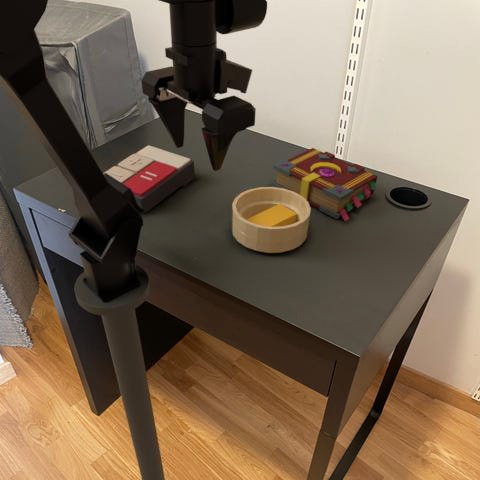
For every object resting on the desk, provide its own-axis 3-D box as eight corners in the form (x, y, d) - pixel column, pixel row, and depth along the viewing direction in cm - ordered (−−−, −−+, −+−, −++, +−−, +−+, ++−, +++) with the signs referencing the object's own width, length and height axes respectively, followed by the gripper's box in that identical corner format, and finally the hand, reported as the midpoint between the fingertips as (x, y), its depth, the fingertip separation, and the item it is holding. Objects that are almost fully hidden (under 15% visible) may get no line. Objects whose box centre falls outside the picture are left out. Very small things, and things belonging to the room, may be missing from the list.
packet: (260, 245, 75) (261, 231, 74) (243, 233, 77) (243, 220, 76) (295, 226, 79) (297, 213, 77) (278, 216, 81) (279, 203, 80)
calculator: (91, 176, 83) (147, 141, 92) (97, 198, 86) (150, 161, 95) (141, 195, 79) (194, 156, 88) (145, 217, 82) (196, 177, 91)
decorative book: (310, 168, 95) (313, 143, 92) (379, 200, 87) (385, 174, 84) (271, 187, 89) (273, 162, 86) (341, 223, 81) (346, 197, 78)
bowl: (268, 266, 73) (270, 238, 69) (216, 230, 79) (216, 203, 75) (322, 236, 78) (326, 209, 75) (270, 205, 85) (272, 179, 81)
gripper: (291, 48, 60) (280, 166, 70) (200, 16, 69) (203, 124, 80) (221, 64, 54) (220, 189, 65) (133, 27, 64) (145, 141, 75)
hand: (197, 158), depth 72 cm, fingers open, 9 cm apart
